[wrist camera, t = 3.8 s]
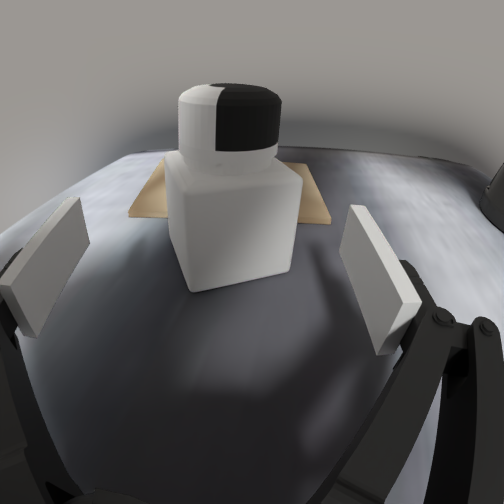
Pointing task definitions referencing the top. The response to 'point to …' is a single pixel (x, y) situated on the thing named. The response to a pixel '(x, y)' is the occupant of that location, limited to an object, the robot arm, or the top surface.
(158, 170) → the cork mat
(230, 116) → the medicine bottle
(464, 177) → the top surface
